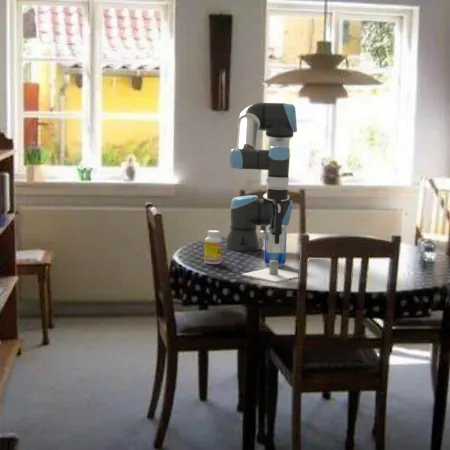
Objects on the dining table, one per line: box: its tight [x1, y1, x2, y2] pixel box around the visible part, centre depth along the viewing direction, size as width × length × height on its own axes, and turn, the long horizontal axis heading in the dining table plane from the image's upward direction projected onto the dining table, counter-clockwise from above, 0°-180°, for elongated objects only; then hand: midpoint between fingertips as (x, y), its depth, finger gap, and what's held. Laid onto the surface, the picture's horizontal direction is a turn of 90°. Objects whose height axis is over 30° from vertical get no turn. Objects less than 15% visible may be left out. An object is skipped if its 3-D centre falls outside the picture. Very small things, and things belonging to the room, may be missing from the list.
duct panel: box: [241, 260, 299, 284], centre depth 295 cm, size 18×16×6 cm
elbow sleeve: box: [258, 228, 285, 253], centre depth 293 cm, size 9×6×8 cm
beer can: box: [263, 225, 288, 268], centre depth 314 cm, size 8×8×16 cm
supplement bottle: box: [203, 229, 223, 265], centre depth 314 cm, size 7×7×13 cm
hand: (274, 250), depth 294 cm, fingers closed on elbow sleeve, 6 cm apart
